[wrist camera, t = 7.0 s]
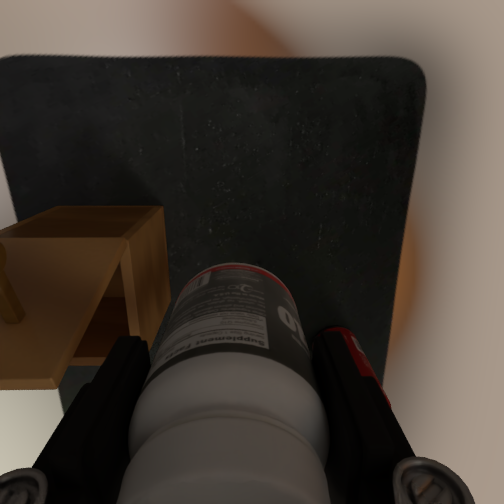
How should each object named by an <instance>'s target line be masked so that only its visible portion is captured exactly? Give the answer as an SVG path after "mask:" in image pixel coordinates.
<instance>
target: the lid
mask: <svg viewBox="0 0 504 504" xmlns="http://www.w3.org/2000/svg"><path fill="white" fill-rule="evenodd" d="M126 247H127V244H126V240H125V238H124V237H86V238H0V390H49V389H50V390H51V389H52V390H53V389H57V388H58V386H59V384H60V382H61V380H62V377H63V375H64V373H65V371H66V369H67V367H68V365H69V363H70V361H71V359H72V357H73V355H74V353H75V351H76V349H77V347H78V345H79V343H80V341H81V339H82V337H83V335H84V333H85V331H86V329H87V327H88V325H89V323H90V321H91V319H92V317H93V314H94V312H95V310H96V308H97V306H98V304H99V302H100V300H101V298H102V296H103V294H104V292H105V290H106V288H107V286H108V284H109V282H110V280H111V278H112V276H113V274H114V272H115V270H116V268H117V266H118V264H119V262H120V260H121V258H122V256H123V254H124V251H125V249H126Z"/></svg>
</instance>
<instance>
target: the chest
mask: <svg viewBox="0 0 504 504" xmlns="http://www.w3.org/2000/svg"><path fill="white" fill-rule="evenodd" d="M86 237H124V238H125V240H126V244H127V247H126V249H125V251H124V254H123V256H122V258H121V260H120V262H119V264H118V266H117V268H116V270H115V272H114V274H113V276H112V278H111V280H110V282H109V284H108V286H107V288H106V290H105V292H104V294H103V296H102V298H101V300H100V302H99V304H98V306H97V308H96V310H95V312H94V314H93V317H92V319H91V321H90V323H89V325H88V327H87V329H86V331H85V333H84V335H83V337H82V339H81V341H80V343H79V345H78V347H77V349H76V351H75V353H74V355H73V357H72V359H71V361H70V363H69V365H68V366H87V365H102V364H103V362H104V360H105V359H106V357H107V355H108V354H109V352H110V350H111V349H112V347H113V345H114V344H115V342H116V340H117V339H118V337H119V336H140V337H141V340H146V341H147V343H148V349H149V351H150V348H151V346H152V344H153V341H154V339H155V337H156V334H157V332H158V329H159V327H160V325H161V322H162V320H163V318H164V315H165V313H166V310H167V308H168V306H169V303H170V301H171V292H170V280H169V268H168V257H167V245H166V233H165V221H164V209H163V206H56V207H53V208H51V209H49V210H46V211H44V212H42V213H39V214H37V215H35V216H32V217H30V218H27V219H25V220H23V221H20V222H18V223H16V224H13V225H11V226H9V227H6V228H4V229H2V230H0V238H86Z"/></svg>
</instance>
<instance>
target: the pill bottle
mask: <svg viewBox="0 0 504 504" xmlns="http://www.w3.org/2000/svg"><path fill="white" fill-rule="evenodd" d="M329 448H330V430H329V423H328V418H327V413H326V410H325V406H324V402H323V399H322V395H321V391H320V387H319V384H318V381H317V378H316V374H315V371H314V367H313V364H312V360H311V357H310V353H309V350H308V347H307V343H306V340H305V336H304V333H303V330H302V327H301V323H300V320H299V316H298V312H297V308H296V305H295V302H294V300H293V298H292V296H291V294H290V292H289V290H288V289H287V287H286V286H285V285H284V284H283V283H282V282H281V281H280V280H279V279H278V278H277V277H276V276H275V275H273V274H272V273H270V272H269V271H267V270H265V269H263V268H260V267H258V266H254V265H249V264H244V263H225V264H219V265H215V266H212V267H210V268H208V269H206V270H204V271H202V272H200V273H199V274H197V275H196V276H195V277H194V278H192V279H191V280H190V281H189V282H188V283H187V285H186V286H185V287H184V288H183V290H182V291H181V293H180V295H179V297H178V299H177V301H176V303H175V307H174V309H173V312H172V315H171V317H170V320H169V322H168V325H167V328H166V330H165V333H164V335H163V338H162V340H161V343H160V345H159V348H158V350H157V353H156V355H155V357H154V360H153V363H152V365H151V368H150V370H149V373H148V375H147V378H146V380H145V383H144V385H143V388H142V390H141V392H140V394H139V397H138V399H137V402H136V405H135V408H134V411H133V414H132V417H131V421H130V425H129V430H128V450H129V456H130V460H131V461H130V463H129V465H128V467H127V469H126V471H125V473H124V476H123V480H122V484H121V489H120V493H119V497H118V500H117V503H116V504H331V503H330V497H329V492H328V483H327V479H326V475H325V472H324V468H325V465H326V462H327V459H328V455H329Z"/></svg>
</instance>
